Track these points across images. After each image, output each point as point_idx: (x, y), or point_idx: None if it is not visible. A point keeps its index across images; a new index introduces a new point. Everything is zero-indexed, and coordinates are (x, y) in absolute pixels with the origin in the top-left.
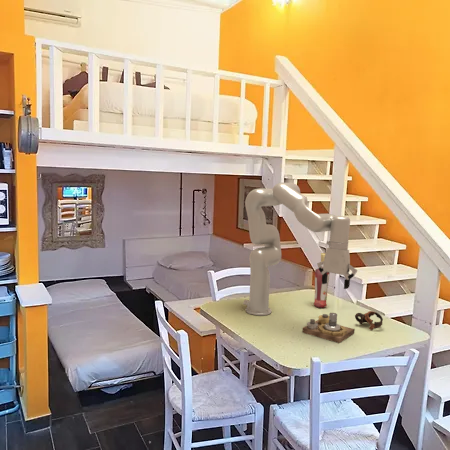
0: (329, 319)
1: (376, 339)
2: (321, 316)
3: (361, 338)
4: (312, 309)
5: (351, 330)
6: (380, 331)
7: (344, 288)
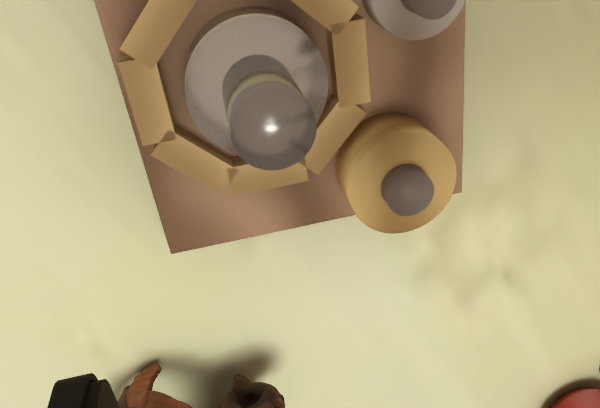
0: (285, 75)
1: (4, 272)
2: (434, 173)
3: (74, 202)
4: (591, 345)
5: (164, 213)
6: None
7: (79, 379)
